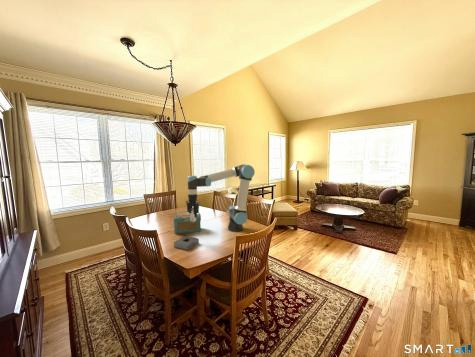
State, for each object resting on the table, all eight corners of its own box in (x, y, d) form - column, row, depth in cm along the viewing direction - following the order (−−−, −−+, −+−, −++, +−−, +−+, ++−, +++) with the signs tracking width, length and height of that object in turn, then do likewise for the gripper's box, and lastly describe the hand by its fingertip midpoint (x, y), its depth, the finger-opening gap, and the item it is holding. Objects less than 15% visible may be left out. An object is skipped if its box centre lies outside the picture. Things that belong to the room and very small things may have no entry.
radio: (173, 234, 187) (172, 213, 184) (174, 230, 197) (173, 210, 195) (201, 231, 192) (200, 211, 190) (201, 227, 202) (200, 208, 200)
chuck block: (198, 243, 166) (198, 238, 166) (187, 250, 154) (187, 245, 153) (185, 240, 173) (185, 235, 172) (174, 246, 160) (173, 242, 160)
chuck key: (196, 221, 174) (196, 207, 172) (192, 223, 168) (191, 209, 167) (194, 220, 175) (193, 207, 174) (189, 222, 170) (189, 208, 168)
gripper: (202, 193, 169) (203, 220, 171) (188, 192, 176) (189, 218, 179) (197, 195, 162) (197, 223, 165) (182, 193, 169) (183, 220, 172)
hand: (193, 220), depth 172 cm, fingers closed on chuck key, 3 cm apart
